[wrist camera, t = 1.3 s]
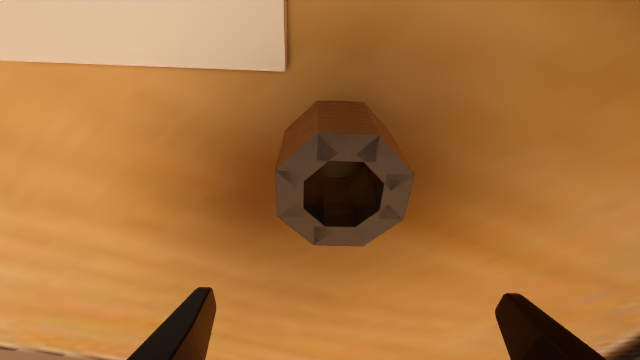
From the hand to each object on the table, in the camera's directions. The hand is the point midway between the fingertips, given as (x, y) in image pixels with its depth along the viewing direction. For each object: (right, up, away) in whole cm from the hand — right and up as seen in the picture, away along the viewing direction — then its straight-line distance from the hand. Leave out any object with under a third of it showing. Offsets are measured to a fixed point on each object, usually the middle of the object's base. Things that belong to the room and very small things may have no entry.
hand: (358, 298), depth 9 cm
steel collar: (0, +5, +9) cm, 11 cm away
